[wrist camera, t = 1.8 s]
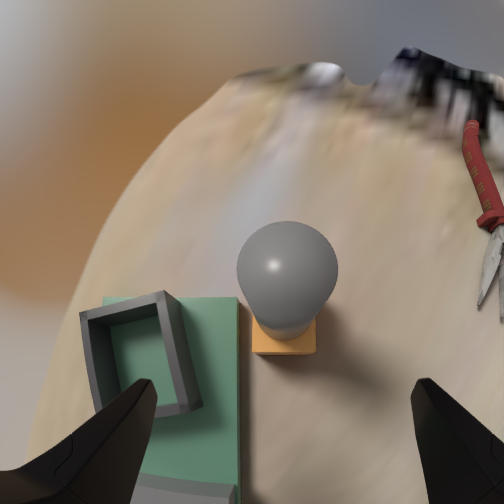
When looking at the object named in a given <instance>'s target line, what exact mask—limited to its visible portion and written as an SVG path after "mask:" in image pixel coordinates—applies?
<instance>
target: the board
mask: <svg viewBox="0 0 504 504" xmlns="http://www.w3.org/2000/svg"><path fill="white" fill-rule="evenodd" d="M133 298H134V297H103V304H102V306H106V305H110V304H114V303H118V302H121V301H125V300H129V299H133ZM175 299H177V300H178V301H179V303H180V308H181V313H182V317H183V322H184V327H185V331H186V336H187V340H188V345H189V349H190V354H191V358H192V362H193V366H194V370H195V374H196V378H197V382H198V386H199V390H200V394H201V398H202V401H203V405H204V407H202V408H200V409H197V410H195V411H193V412H190V413H184V414H178V415H172V416H165V417H158V418H154V421H153V426H152V431H151V436H150V440H149V443H148V446H147V449H146V452H145V456H144V459H143V462H142V465H141V468H140V472H142V473H147V474H152V475H158V476H164V477H170V478H177V479H184V480H192V481H201V482H211V483H224V484H235V504H241V474H240V357H239V307H240V302H239V300H238V299H237V297H219V298H175ZM110 332H111V338H112V344H113V350H114V356H115V362H116V367H117V372H118V377H119V382H120V387H121V391H122V392H123V391H125V390H126V389H127V388H128V387H129V386H131V385H132V384H133V383H134V382H135V381H137V380H138V379H140V378H146V379H151V380H152V382H153V384H154V387H155V389H156V392H157V396H158V400H157V405H163V404H169V403H175V402H178V401H177V397H176V393H175V389H174V385H173V381H172V377H171V373H170V368H169V364H168V359H167V355H166V350H165V345H164V340H163V336H162V331H161V325H160V320H159V315H158V316H154V317H150V318H146V319H142V320H138V321H134V322H129V323H125V324H121V325H117V326H112V327H110Z"/></svg>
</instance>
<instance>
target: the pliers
mask: <svg viewBox="0 0 504 504" xmlns="http://www.w3.org/2000/svg"><path fill="white" fill-rule="evenodd" d="M478 132H479V123H478V122H477V121H475V120H470V121H468V122H467V123H466V125H465V127H464V133H463V141H462V152H463V156H464V159H465V162H466V165H467V168H468V170H469V173H470V175H471V178H472V181H473V183H474V186H475V189H476V191H477V194H478V197H479V200H480V203H481V206H482V209H483V212H484V214H482V215H481V216H480V217H479V218H478V219H477V220H476V221H477V224H478V227H488V231H489V232H493V233H492V235H491V238H490V241H489V244H488V247H487V250H486V254H485V258H484V265H483V272H482V279H481V285H480V291H479V297H478V302H477V306H479V305H480V304H481V302H482V300H483V298H484V296H485V294H486V292H487V290H488V288H489V286H490V283H491V281H492V279H493V277H494V274H495V272H496V270H497V268H498V265H499V262H500V259H501V256H502V257H503V261H504V206H503V203H502V200H501V198H500V195H499V192H498V190H497V187H496V184H495V182H494V179H493V177H492V175H491V172H490V170H489V167H488V165H487V163H486V161H485V158H484V156H483V154H482V151H481V148H480V145H479V140H478ZM499 291H500V319H502V318H504V262H503V264H502V265H501V266H499Z"/></svg>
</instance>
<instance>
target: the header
mask: <svg viewBox="0 0 504 504" xmlns="http://www.w3.org/2000/svg"><path fill="white" fill-rule="evenodd" d="M79 315H80V324H81V333H82V341H83V348H84V355H85V361H86V367H87V373H88V378H89V384H90V389H91V394H92V399H93V403H94V408H95V412H96V413H98V412H99V411H100V410H101V409H102V408H104V407H105V406H106V405H107V404H109V403H110V402H111V401H112V400H114V399H115V398H116V397H117V396H118V395H120V394H121V393H122V391H121V387H120V382H119V377H118V372H117V367H116V362H115V356H114V350H113V344H112V338H111V332H110V327H112V326H117V325H121V324H125V323H129V322H134V321H138V320H142V319H146V318H150V317H154V316H158V315H159V320H160V325H161V331H162V336H163V340H164V345H165V350H166V355H167V359H168V364H169V368H170V373H171V377H172V381H173V385H174V389H175V393H176V397H177V401H178V402H175V403H169V404H163V405H156V410H155V416H154V418H158V417H165V416H172V415H178V414H184V413H190V412H193V411H195V410H197V409H200V408H202V407H204V405H203V401H202V398H201V394H200V390H199V386H198V382H197V378H196V374H195V370H194V366H193V362H192V358H191V354H190V349H189V345H188V340H187V336H186V331H185V327H184V322H183V317H182V313H181V308H180V303H179V301H178V300H177V299H175V298H174V297H173V296H171V295H170V294H168V293H167V292H166V291H164V290H163V291H159V292H155V293H151V294H148V295H144V296H140V297H136V298H133V299H129V300H125V301H121V302H118V303H114V304H110V305H106V306H102V307H99V308H95V309H91V310H87V311H83V312H79Z"/></svg>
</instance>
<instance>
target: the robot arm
mask: <svg viewBox="0 0 504 504" xmlns="http://www.w3.org/2000/svg"><path fill="white" fill-rule="evenodd" d="M157 400H158V396H157V392H156V389H155V387H154V384H153V382H152V380H151V379H146V378H140V379H138V380H137V381H135V382H134V383H133V384H132V385H131V386H129V387H128V388H127V389H126V390H125V391H123V392H122V393H121V394H120V395H118V396H117V397H116V398H115V399H114V400H112V401H111V402H110V403H109V404H107V405H106V406H105V407H104V408H102V409H101V410H100V411H99V412H98V413H96V414H95V415H94V416H93V417H91V418H90V419H89V420H88V421H86V422H85V423H84V424H83V425H81V426H80V427H79V428H78V429H76V430H75V431H74V432H73V433H72V434H70V435H69V436H67V437H66V438H65V439H64V440H62V441H61V442H60V443H58V444H57V445H56V446H54V447H53V448H51V449H50V450H48V451H46V452H45V453H43V454H42V455H40V456H38V457H37V458H35V459H33V460H32V461H30V462H28V463H27V464H25V465H23V466H21V467H20V468H17V469H14V470H9V471H0V504H130V502H131V498H132V495H133V492H134V488H135V485H136V482H137V478H138V475H139V472H140V468H141V465H142V462H143V459H144V456H145V452H146V449H147V446H148V443H149V440H150V436H151V431H152V426H153V421H154V416H155V410H156V405H157ZM411 405H412V412H413V420H414V428H415V435H416V440H417V445H418V449H419V454H420V458H421V463H422V468H423V473H424V478H425V483H426V488H427V494H428V500H429V504H504V443H503V442H502V441H501V440H500V439H499V438H497V437H496V436H495V435H494V434H492V432H491V431H490V430H488V429H487V428H486V427H485V426H484V425H483V424H482V423H481V422H479V421H478V420H477V419H476V418H475V417H474V416H473V415H472V414H470V413H469V412H468V411H467V410H466V409H465V408H464V407H463V406H461V405H460V404H459V403H458V402H457V401H456V400H455V399H453V398H452V397H451V396H450V395H449V394H448V393H447V392H445V391H444V390H443V389H442V388H441V387H440V386H439V385H437V384H436V383H435V382H434V381H433V380H432V379H430V378H421V379H418V380H417V382H416V385H415V387H414V389H413V391H412V394H411Z"/></svg>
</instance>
